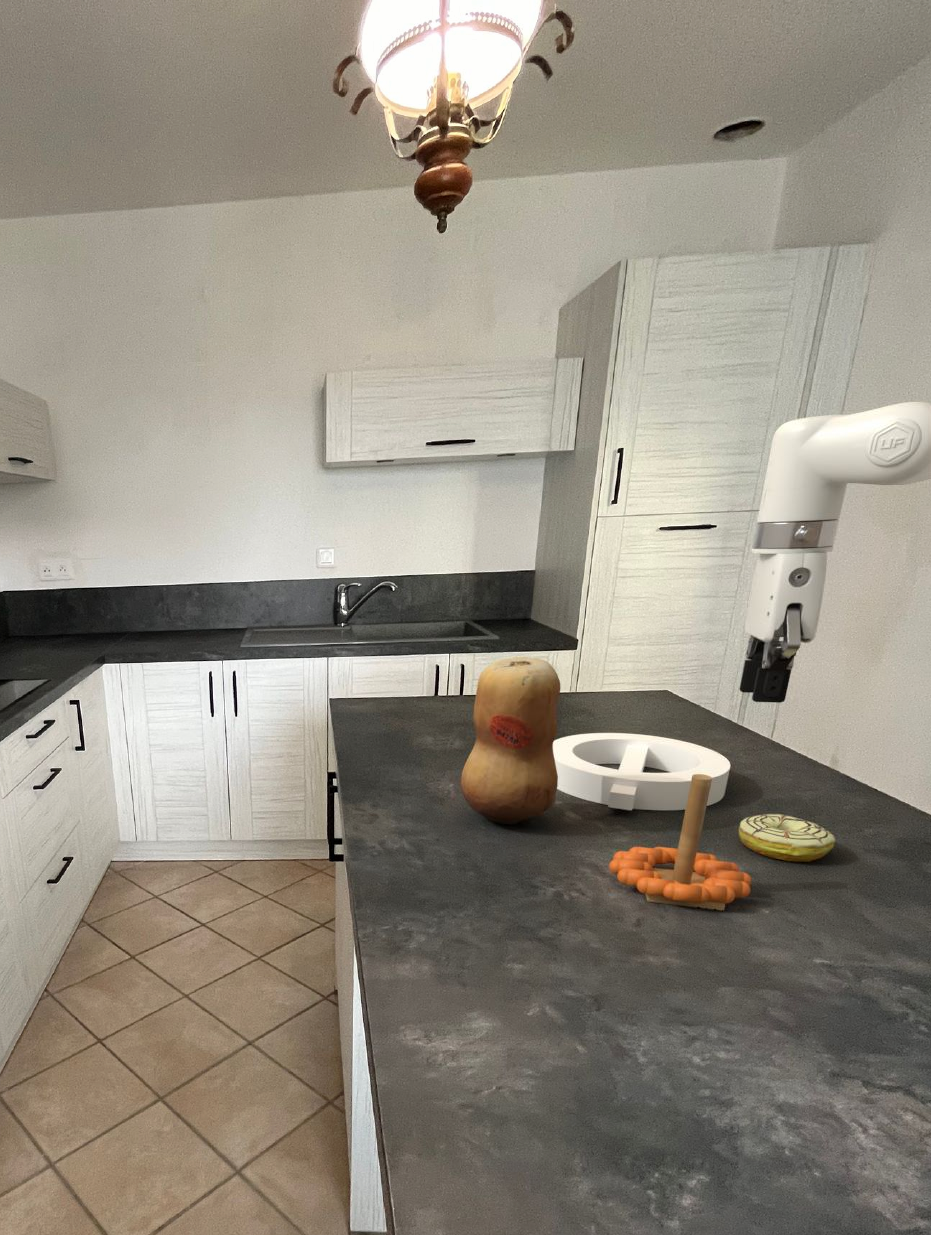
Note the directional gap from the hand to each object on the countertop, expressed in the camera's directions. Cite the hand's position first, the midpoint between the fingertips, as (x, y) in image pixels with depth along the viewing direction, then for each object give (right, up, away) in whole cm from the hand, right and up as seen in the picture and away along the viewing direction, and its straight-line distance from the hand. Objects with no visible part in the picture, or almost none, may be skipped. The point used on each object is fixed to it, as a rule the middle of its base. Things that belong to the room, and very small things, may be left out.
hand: (761, 695), depth 89 cm
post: (-9, -24, +1) cm, 26 cm away
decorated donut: (+11, -20, +11) cm, 25 cm away
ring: (-9, -23, +2) cm, 25 cm away
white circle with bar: (+4, -9, +38) cm, 39 cm away
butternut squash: (-23, -16, +24) cm, 37 cm away
